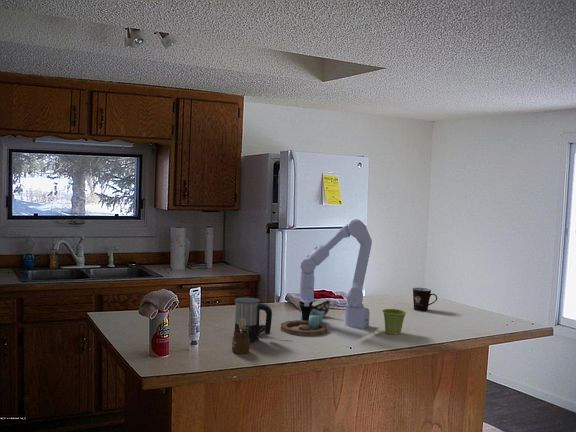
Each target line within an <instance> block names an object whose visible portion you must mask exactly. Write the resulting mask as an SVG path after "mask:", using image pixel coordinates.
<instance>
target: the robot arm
mask: <svg viewBox="0 0 576 432" xmlns="http://www.w3.org/2000/svg"><path fill="white" fill-rule="evenodd" d="M350 237H353V238H355V240H356V241H357V242H358V243H359V250H358V256H357V260H356V263H355V265H356V266H355V269H354V270H355V271H354V274H353V280H352V285H351V289H350V290H349V291H348V293H347V297H346V301H347V303H345V315H344V326H346V327H349V328H356V329H362V330H364V329H366V328H368V327H369V326H370V313H371V312H370V309H369V308H368V307H365V306H364V304H363V301H364V299H363V298H364V292H363V290H364V289H363V288H364V284H365V278H366V274H367V269H368V265H369V264H368V263H369V258H370V255H371V249H372V245H373V244H372V243H373V240H372V237H371V235H370V232H369V230H368V228H367V226H366V224H365V223H363V221H362V220H360V219H358V218H357V219H351V221H350V222H349V223H347V224H346V225H344V226H343V227H341V228H340V229H339V230H338V231H337V232H336V233H335V234H334V235H333V236H332V237H331V238H330V239H329V240H328V241H327V242H326V243H325V244H323V245H322V244H321V245H317V246H315V247H314V250H313V251H312V252H311V253H310V254H307V255H306V256H305V257H306V258H305V259H303V260H302V261H301V263H300V269H301V270H300V271H301V272H300V279H299V280H300V284H299V296H297V297H296V300H299V302H298V303H299V305H298V306H300V308H301V311H302V319H303V320H304V321H308V320H309V316H310V312H311V310H312V308H313V305H312V304H313V302H312V301H314V298H315V297H314V293H315V292H314V291H315V290H314V289H315V269H316V267H319V265H321V263H323V261H325V260H326V259H327V258H329V256H330V250H332V249H333V248H334V247H335V246H337V245H338V244H339V242H340V241H342V240H343V239H345V238H350Z"/></svg>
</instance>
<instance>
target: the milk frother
mask: <svg viewBox="0 0 576 432" xmlns="http://www.w3.org/2000/svg"><path fill="white" fill-rule="evenodd" d="M260 301H261V300H260V299H259V298H255V297H237V298H235V299H234V302H235V307H234V309H235V312H234V313H235V314H234V331H235V330H240V329H241V328H240V329H239V319H240V320H241V319H244V320H246V321H244V326H246V327H244V328H242V330H244V329H245V330H247V331H248V332H249V339H250V343H253V342H258V341H259V335H260V334H261V333H263V332H264V334H265V335H269V334H271V328H272V319H273V311H272V308H271V307H270V306H269V305H268V304H265V303H260ZM260 311H264V312H265V314H266V315H265V324H260V313H261V312H260ZM242 323H243V321H242ZM240 325H241V321H240Z"/></svg>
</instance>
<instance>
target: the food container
mask: <svg viewBox="0 0 576 432" xmlns="http://www.w3.org/2000/svg"><path fill="white" fill-rule="evenodd" d="M312 302H313V304H312V305H313V308H312V310H311V314H310V315H313V312H314V311H320V312H323V318H324V317H325V316H327V314H328V313H329V311H330V308H331V301H330V300H329V299H325V300H322V299H321V300H318V299H317V300H314V301H312ZM297 309H298V311H299V313H301V308H300V306H299V305H298V306H297Z"/></svg>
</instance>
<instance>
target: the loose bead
mask: <svg viewBox="0 0 576 432" xmlns="http://www.w3.org/2000/svg"><path fill="white" fill-rule="evenodd" d="M313 315H317V316H319V323H322V324H323V319H324V317H323V312H320V311H314V312H313Z"/></svg>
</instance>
